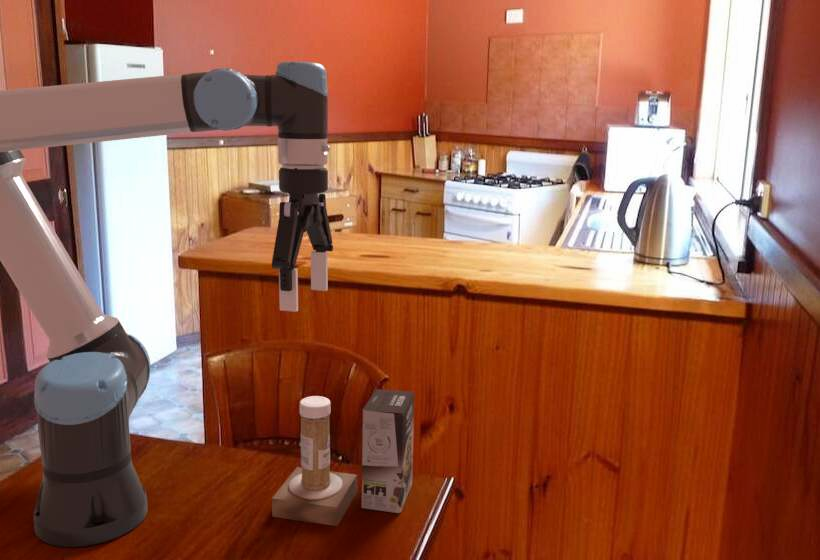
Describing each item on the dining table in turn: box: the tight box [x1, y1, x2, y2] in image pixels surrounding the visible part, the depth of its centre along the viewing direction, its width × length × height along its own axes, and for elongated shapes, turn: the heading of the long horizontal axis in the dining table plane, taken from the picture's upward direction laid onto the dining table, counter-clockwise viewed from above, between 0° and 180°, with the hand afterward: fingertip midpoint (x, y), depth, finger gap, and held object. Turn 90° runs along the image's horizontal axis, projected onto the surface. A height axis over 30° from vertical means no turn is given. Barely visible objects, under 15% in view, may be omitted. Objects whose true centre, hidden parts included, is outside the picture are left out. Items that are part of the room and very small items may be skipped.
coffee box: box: [361, 388, 415, 514], centre depth 113 cm, size 9×6×16 cm
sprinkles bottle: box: [298, 395, 332, 490], centre depth 110 cm, size 5×5×13 cm
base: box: [271, 466, 358, 527], centre depth 112 cm, size 10×10×3 cm
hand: (305, 299), depth 118 cm, fingers open, 13 cm apart
